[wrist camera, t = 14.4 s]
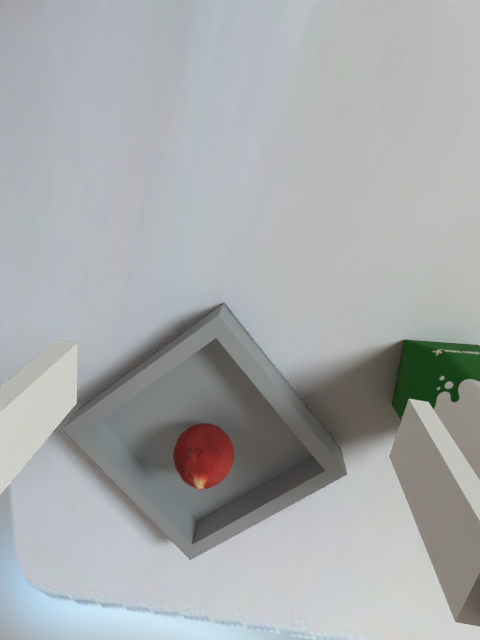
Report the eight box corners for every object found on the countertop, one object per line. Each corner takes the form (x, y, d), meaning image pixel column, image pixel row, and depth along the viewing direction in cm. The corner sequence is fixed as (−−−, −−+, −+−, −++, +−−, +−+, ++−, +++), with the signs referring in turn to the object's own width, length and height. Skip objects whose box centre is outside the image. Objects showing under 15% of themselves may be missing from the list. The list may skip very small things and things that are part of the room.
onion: (175, 445, 44) (155, 499, 37) (191, 400, 43) (174, 448, 35) (226, 463, 45) (216, 520, 37) (244, 420, 43) (239, 471, 35)
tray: (79, 408, 45) (61, 429, 41) (224, 302, 40) (218, 315, 36) (196, 530, 49) (190, 559, 45) (340, 449, 44) (347, 474, 40)
